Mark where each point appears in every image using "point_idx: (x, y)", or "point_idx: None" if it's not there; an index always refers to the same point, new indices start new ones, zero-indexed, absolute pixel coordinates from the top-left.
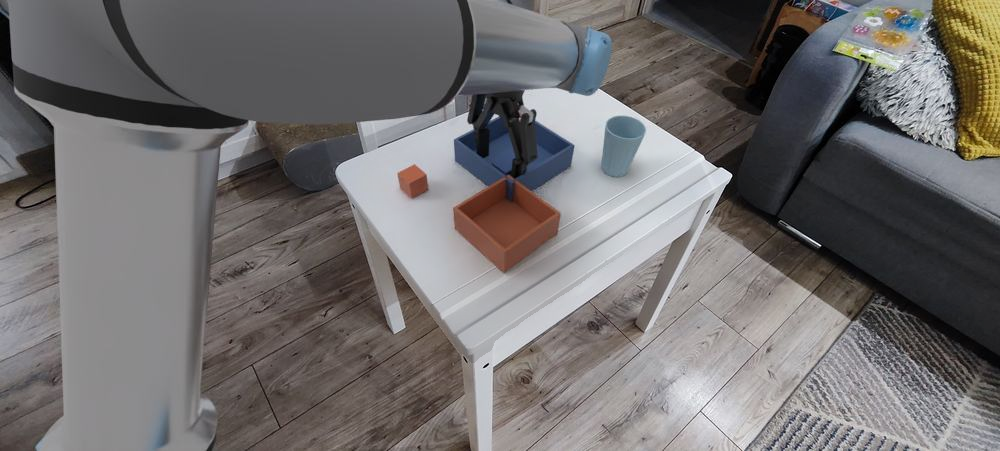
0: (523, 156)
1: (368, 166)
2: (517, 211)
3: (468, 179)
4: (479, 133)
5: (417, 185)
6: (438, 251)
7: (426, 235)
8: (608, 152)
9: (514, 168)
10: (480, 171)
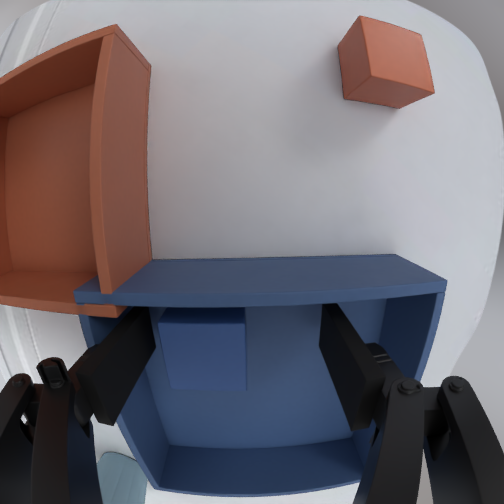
0: (17, 398)
1: (479, 80)
2: (83, 252)
3: (300, 229)
4: (373, 386)
5: (354, 49)
6: (129, 13)
7: (189, 7)
8: (102, 489)
9: (97, 349)
10: (271, 269)
